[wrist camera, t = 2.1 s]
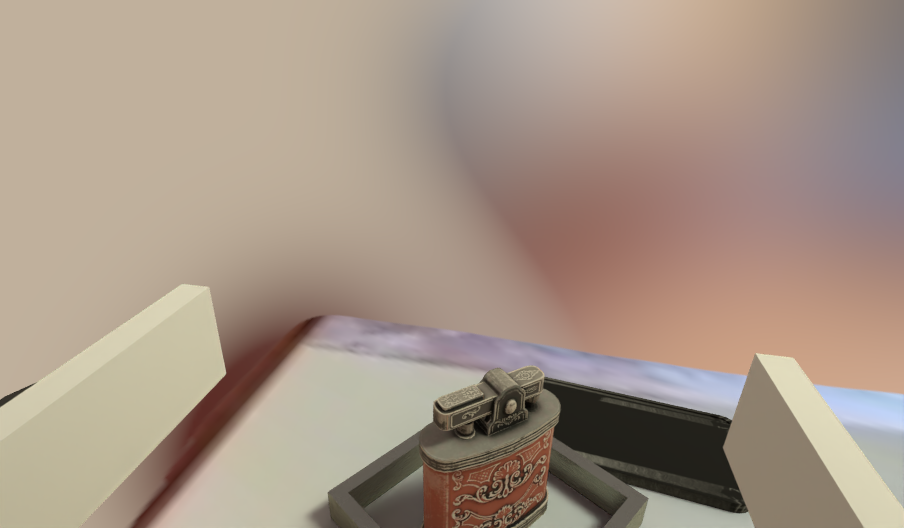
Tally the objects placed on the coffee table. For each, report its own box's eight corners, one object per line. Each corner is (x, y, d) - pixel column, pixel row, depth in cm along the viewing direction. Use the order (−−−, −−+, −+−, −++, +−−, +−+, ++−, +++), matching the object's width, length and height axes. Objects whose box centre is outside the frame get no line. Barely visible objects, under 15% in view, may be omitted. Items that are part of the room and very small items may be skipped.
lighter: (524, 472, 32) (538, 340, 28) (560, 513, 29) (581, 374, 25) (409, 528, 28) (405, 385, 24) (438, 580, 26) (439, 431, 21)
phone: (759, 509, 29) (505, 441, 33) (753, 522, 29) (503, 454, 34) (737, 418, 36) (528, 372, 40) (733, 430, 36) (527, 383, 41)
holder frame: (641, 522, 29) (648, 498, 28) (497, 711, 21) (500, 684, 20) (479, 412, 37) (481, 390, 36) (330, 516, 29) (327, 492, 28)
